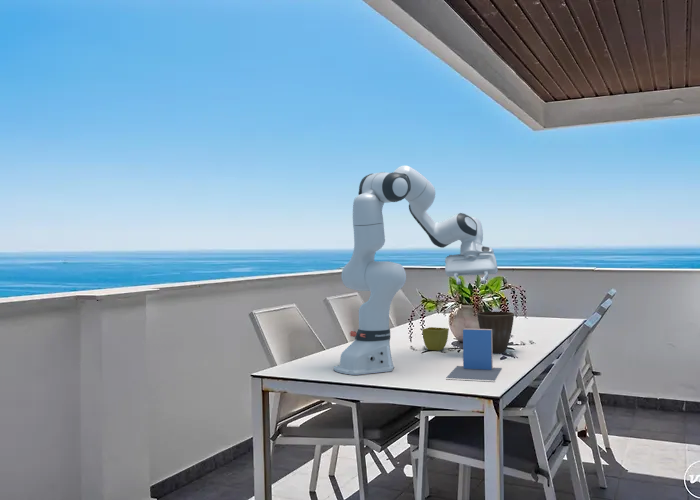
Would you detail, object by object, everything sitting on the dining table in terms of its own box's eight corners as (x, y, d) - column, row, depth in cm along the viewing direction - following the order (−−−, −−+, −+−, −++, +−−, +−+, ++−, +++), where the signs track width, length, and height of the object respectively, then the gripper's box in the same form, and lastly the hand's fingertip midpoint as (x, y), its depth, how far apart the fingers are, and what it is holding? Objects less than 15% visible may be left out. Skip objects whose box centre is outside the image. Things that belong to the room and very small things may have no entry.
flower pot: (449, 349, 278) (449, 328, 278) (441, 352, 270) (441, 330, 270) (430, 347, 282) (430, 327, 282) (422, 350, 275) (421, 329, 274)
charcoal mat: (495, 382, 210) (495, 380, 210) (445, 379, 215) (445, 377, 215) (502, 369, 231) (502, 367, 231) (457, 367, 236) (457, 365, 236)
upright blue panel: (491, 370, 227) (491, 330, 227) (463, 368, 230) (462, 329, 230) (492, 368, 229) (492, 329, 229) (464, 367, 233) (463, 328, 233)
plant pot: (497, 356, 258) (497, 316, 258) (470, 351, 270) (469, 313, 270) (522, 352, 267) (521, 313, 267) (494, 347, 279) (493, 310, 279)
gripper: (444, 250, 259) (442, 280, 251) (496, 247, 253) (496, 277, 245) (446, 259, 264) (445, 288, 256) (498, 256, 258) (498, 286, 250)
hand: (470, 283), depth 250 cm, fingers open, 8 cm apart
